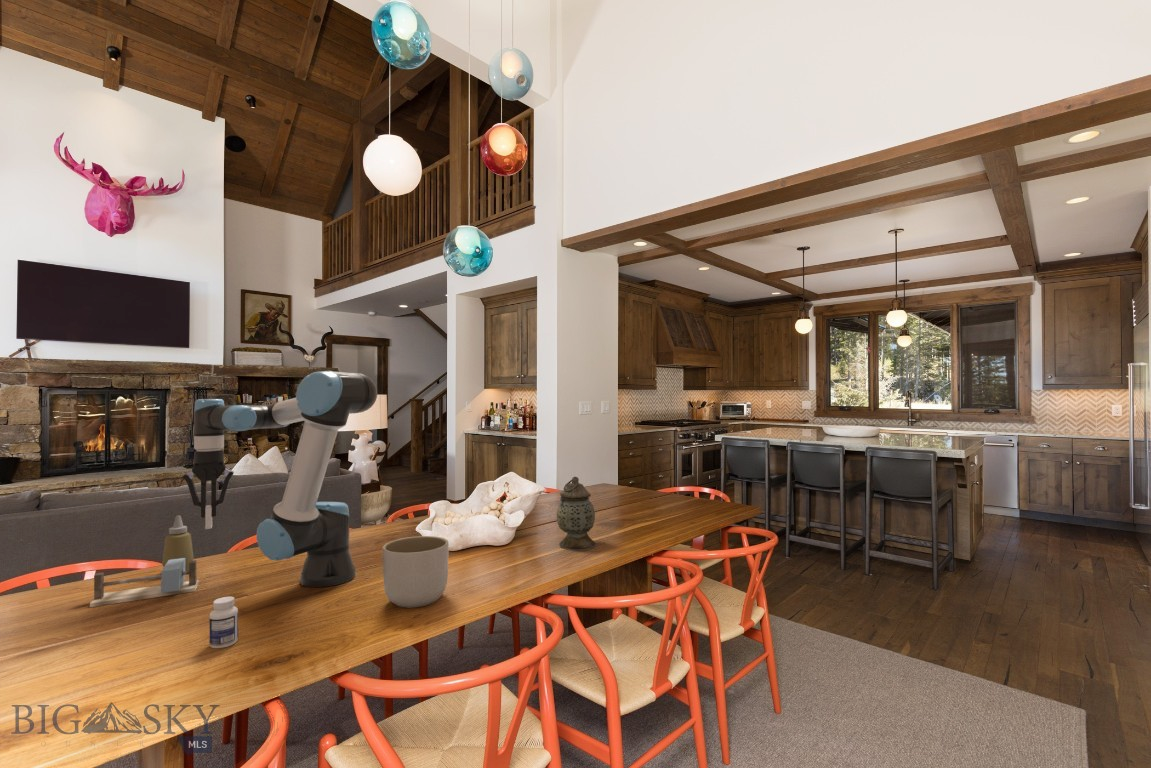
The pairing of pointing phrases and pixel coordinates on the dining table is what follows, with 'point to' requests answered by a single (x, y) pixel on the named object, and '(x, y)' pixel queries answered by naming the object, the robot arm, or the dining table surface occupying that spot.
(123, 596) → the rail
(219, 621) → the pill bottle
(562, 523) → the lantern
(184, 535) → the squeeze bottle
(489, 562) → the dining table surface
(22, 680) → the dining table surface
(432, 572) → the planter
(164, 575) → the block
